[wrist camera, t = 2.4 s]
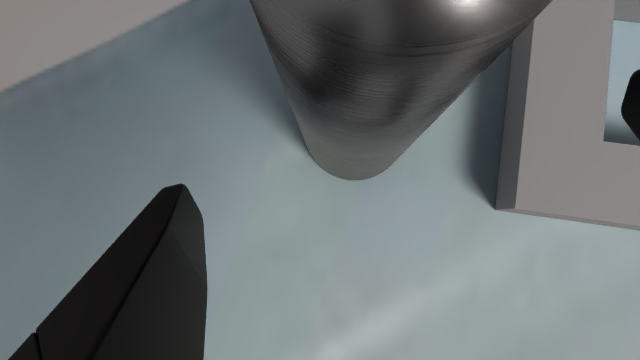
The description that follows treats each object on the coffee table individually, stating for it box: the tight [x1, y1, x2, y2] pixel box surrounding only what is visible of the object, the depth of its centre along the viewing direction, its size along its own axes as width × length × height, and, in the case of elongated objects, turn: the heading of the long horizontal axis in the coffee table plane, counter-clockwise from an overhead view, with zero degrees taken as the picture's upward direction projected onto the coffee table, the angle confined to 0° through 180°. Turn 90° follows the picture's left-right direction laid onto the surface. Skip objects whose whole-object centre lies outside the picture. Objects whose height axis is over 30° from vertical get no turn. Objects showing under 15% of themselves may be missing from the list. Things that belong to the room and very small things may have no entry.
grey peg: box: [250, 0, 553, 180], centre depth 11 cm, size 4×4×14 cm
